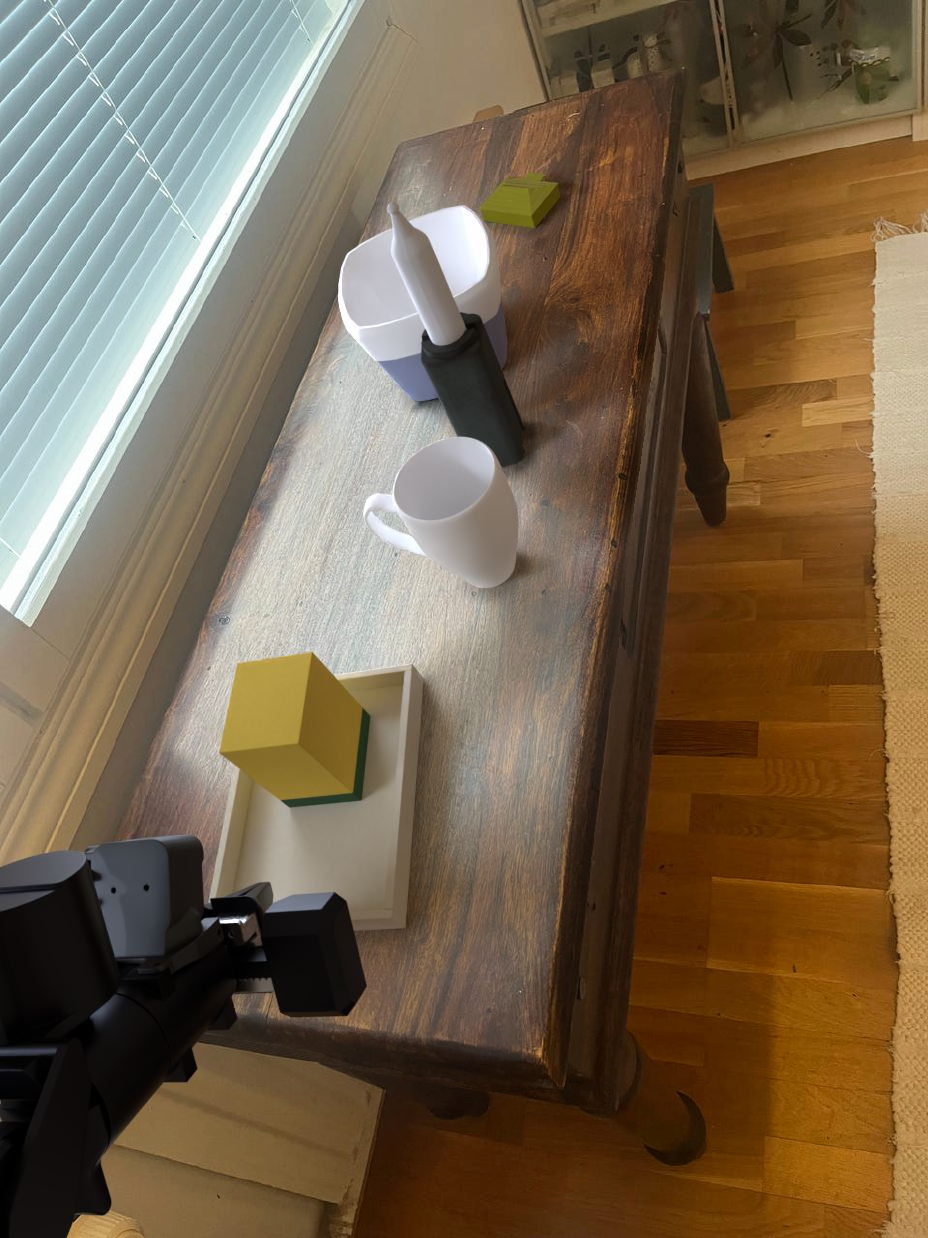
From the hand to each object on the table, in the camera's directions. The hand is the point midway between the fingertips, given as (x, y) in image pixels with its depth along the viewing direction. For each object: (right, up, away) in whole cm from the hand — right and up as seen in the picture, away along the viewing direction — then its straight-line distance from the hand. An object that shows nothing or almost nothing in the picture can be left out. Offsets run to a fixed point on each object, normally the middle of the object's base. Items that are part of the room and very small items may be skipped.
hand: (266, 888), depth 60 cm
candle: (+16, +33, +24) cm, 44 cm away
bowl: (+12, +43, +33) cm, 56 cm away
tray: (+2, +4, +10) cm, 11 cm away
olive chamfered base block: (+19, +63, +43) cm, 79 cm away
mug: (+13, +21, +18) cm, 31 cm away
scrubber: (+2, +6, +11) cm, 13 cm away
